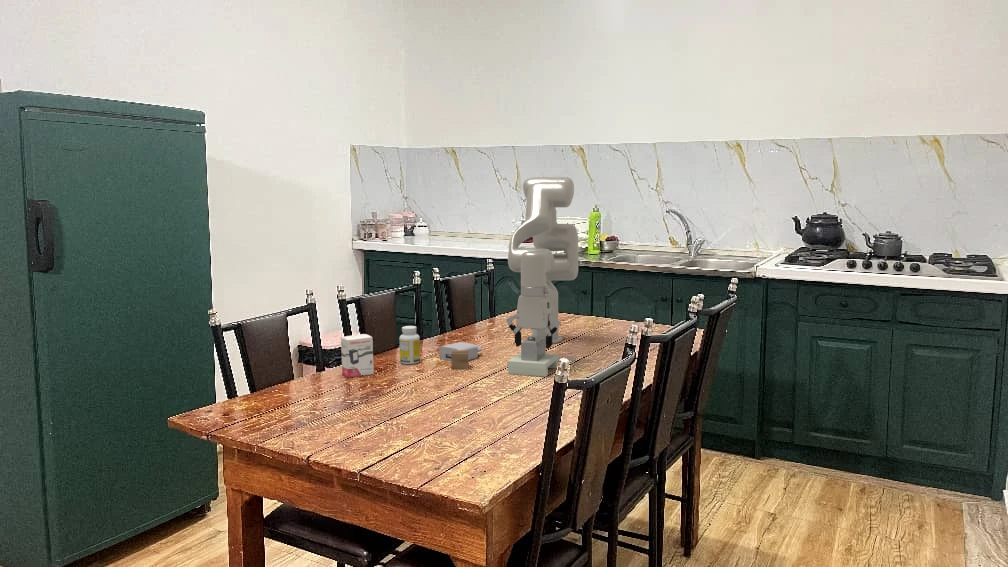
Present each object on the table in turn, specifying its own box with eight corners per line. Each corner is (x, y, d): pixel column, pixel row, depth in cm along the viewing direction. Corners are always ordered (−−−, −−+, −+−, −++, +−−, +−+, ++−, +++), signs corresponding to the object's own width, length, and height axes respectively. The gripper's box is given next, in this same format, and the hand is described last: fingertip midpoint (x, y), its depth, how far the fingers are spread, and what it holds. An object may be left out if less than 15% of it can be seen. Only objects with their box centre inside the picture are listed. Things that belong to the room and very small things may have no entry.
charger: (490, 355, 269) (459, 364, 258) (470, 352, 275) (439, 359, 264) (490, 341, 269) (459, 349, 257) (470, 338, 275) (438, 345, 263)
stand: (522, 363, 257) (522, 351, 256) (558, 366, 253) (558, 354, 252) (507, 373, 244) (507, 361, 243) (545, 377, 240) (545, 364, 239)
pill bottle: (422, 360, 263) (421, 325, 261) (418, 365, 256) (417, 329, 255) (402, 360, 263) (401, 325, 262) (398, 364, 257) (397, 328, 255)
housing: (530, 353, 253) (530, 333, 252) (545, 354, 251) (545, 334, 250) (521, 360, 244) (521, 338, 244) (536, 361, 243) (536, 339, 242)
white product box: (348, 378, 241) (346, 339, 239) (341, 374, 245) (340, 336, 243) (374, 374, 245) (373, 336, 244) (367, 370, 249) (366, 333, 248)
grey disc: (560, 359, 264) (560, 356, 264) (575, 360, 262) (575, 357, 262) (557, 362, 259) (557, 359, 259) (572, 363, 258) (572, 360, 258)
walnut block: (452, 365, 255) (452, 350, 254) (468, 365, 255) (468, 350, 254) (451, 369, 250) (451, 354, 249) (467, 369, 250) (467, 353, 249)
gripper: (564, 291, 245) (563, 346, 248) (510, 288, 251) (511, 342, 254) (556, 295, 238) (556, 351, 241) (502, 292, 244) (502, 347, 247)
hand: (533, 346), depth 247 cm, fingers open, 9 cm apart
